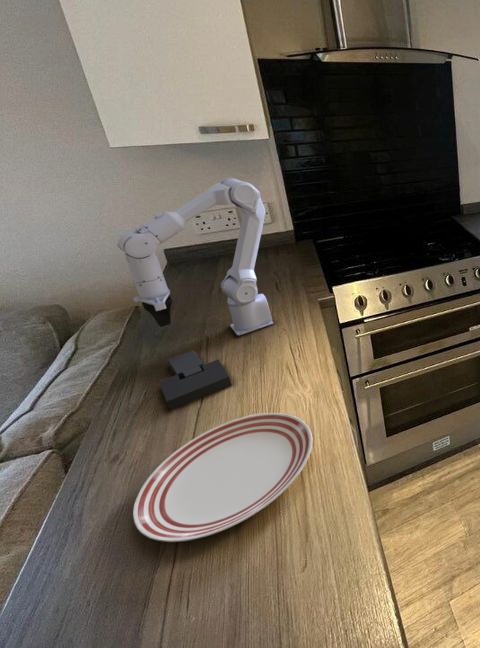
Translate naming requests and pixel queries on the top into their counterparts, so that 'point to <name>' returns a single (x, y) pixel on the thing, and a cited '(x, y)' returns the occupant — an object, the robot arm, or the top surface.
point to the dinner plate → (222, 477)
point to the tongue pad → (186, 364)
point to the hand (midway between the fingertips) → (165, 324)
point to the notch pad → (195, 385)
